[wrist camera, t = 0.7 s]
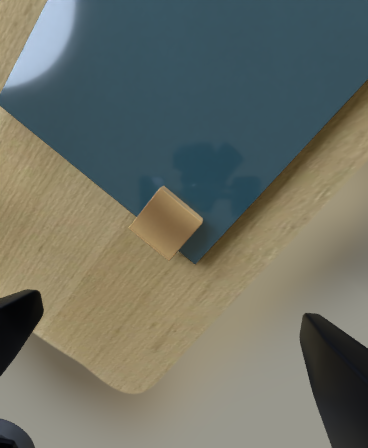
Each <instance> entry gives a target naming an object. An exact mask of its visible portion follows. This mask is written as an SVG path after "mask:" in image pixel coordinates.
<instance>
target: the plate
mask: <svg viewBox="0 0 368 448" xmlns="http://www.w3.org/2000/svg"><path fill="white" fill-rule="evenodd" d="M367 80H368V0H47V2H46V4H45V6H44V8H43V10H42V12H41V14H40V16H39V18H38V20H37V22H36V24H35V26H34V28H33V30H32V32H31V34H30V36H29V38H28V40H27V42H26V44H25V46H24V48H23V50H22V51H21V53H20V55H19V57H18V59H17V61H16V63H15V65H14V67H13V69H12V71H11V73H10V75H9V77H8V79H7V81H6V83H5V85H4V87H3V89H2V91H1V93H0V106H1V107H2V108H3V109H5V110H6V111H7V112H8V113H10V114H11V115H12V116H13V117H14V118H16V119H17V120H18V121H19V122H21V123H22V124H23V125H24V126H26V127H27V128H28V129H29V130H30V131H32V132H33V133H34V134H35V135H37V136H38V137H39V138H40V139H42V140H43V141H44V142H45V143H46V144H48V145H49V146H50V147H51V148H53V149H54V150H55V151H56V152H57V153H59V154H60V155H61V156H62V157H64V158H65V159H66V160H67V161H69V162H70V163H71V164H72V165H73V166H75V167H76V168H77V169H78V170H80V171H81V172H82V173H83V174H85V175H86V176H87V177H88V178H89V179H91V180H92V181H93V182H94V183H96V184H97V185H98V186H99V187H101V188H102V189H103V190H104V191H105V192H107V193H108V194H109V195H110V196H112V197H113V198H114V199H115V200H117V201H118V202H119V203H120V204H121V205H123V206H124V207H125V208H126V209H128V210H129V211H130V212H131V213H133V214H134V215H135V216H136V217H137V216H138V215H139V214H140V213H141V211H142V210H143V209H144V207H145V206H146V205H147V204H148V202H149V201H150V200H151V199H152V197H153V196H154V195H155V193H156V192H157V191H158V190H159V188H161V187H163V186H165V187H166V188H167V189H168V190H170V191H171V192H172V193H173V194H174V195H176V196H177V197H178V198H179V199H180V200H182V201H183V202H184V203H185V204H186V205H188V206H189V207H190V208H191V209H192V210H194V211H195V212H196V213H197V214H198V215H200V216H201V217H202V218H203V222H202V224H201V225H200V227H199V228H198V229H197V230H196V231H195V232H194V233H193V234H192V236H191V237H190V238H189V239H188V240H187V241H186V242H185V243H184V245H183V246H182V247H181V248H180V249H179V250H178V251H179V252H180V253H182V254H183V255H184V256H185V257H187V258H188V259H189V260H190V261H192V262H193V263H194V264H196V263H197V262H198V261H199V260H200V259H201V258H202V257H203V256H204V255H205V254H206V252H207V251H208V250H209V249H210V248H211V247H212V246H213V245H214V244H215V243H216V242H217V241H218V240H219V239H220V237H221V236H222V235H223V234H224V233H225V232H226V231H227V230H228V229H229V228H230V227H231V226H232V225H233V223H234V222H235V221H236V220H237V219H238V218H239V217H240V216H241V215H242V214H243V213H244V212H245V211H246V210H247V208H248V207H249V206H250V205H251V204H252V203H253V202H254V201H255V200H256V199H257V198H258V197H259V196H260V195H261V193H262V192H263V191H264V190H265V189H266V188H267V187H268V186H269V185H270V184H271V183H272V182H273V181H274V179H275V178H276V177H277V176H278V175H279V174H280V173H281V172H282V171H283V170H284V169H285V168H286V167H287V166H288V164H289V163H290V162H291V161H292V160H293V159H294V158H295V157H296V156H297V155H298V154H299V153H300V152H301V151H302V149H303V148H304V147H305V146H306V145H307V144H308V143H309V142H310V141H311V140H312V139H313V138H314V137H315V135H316V134H317V133H318V132H319V131H320V130H321V129H322V128H323V127H324V126H325V125H326V124H327V123H328V122H329V120H330V119H331V118H332V117H333V116H334V115H335V114H336V113H337V112H338V111H339V110H340V109H341V108H342V107H343V105H344V104H345V103H346V102H347V101H348V100H349V99H350V98H351V97H352V96H353V95H354V94H355V93H356V91H357V90H358V89H359V88H360V87H361V86H362V85H363V84H364V83H365V82H366V81H367Z"/></svg>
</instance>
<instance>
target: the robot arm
mask: <svg viewBox="0 0 368 448" xmlns="http://www.w3.org/2000/svg"><path fill="white" fill-rule="evenodd" d="M43 312H44V308H43V303H42V298H41V294H40V292H39V291H38V290H30V289H27V290H23V291H20V292H17V293H14V294H12V295H9V296H6V297H3V298H0V376H1V375H2V374H3V372H4V371H5V370H6V368H7V367H8V366H9V365H10V363H11V362H12V361H13V359H14V358H15V357H16V355H17V354H18V352H19V351H20V350H21V348H22V346H23V345H24V343H25V342H26V340H27V339H28V337H29V336H30V334H31V333H32V331H33V330H34V328H35V327H36V325H37V324H38V322H39V321H40V319H41V318H42V316H43ZM300 344H301V348H302V352H303V356H304V360H305V364H306V368H307V372H308V376H309V380H310V384H311V388H312V392H313V395H314V398H315V401H316V404H317V407H318V410H319V413H320V415H321V418H322V421H323V423H324V426H325V429H326V432H327V434H328V438H329V440H330V443H331V446H332V448H368V348H366V347H365V346H363V345H362V344H360V343H359V342H358V341H356V340H355V339H354V338H352V337H351V336H349V335H348V334H346V333H345V332H344V331H342V330H341V329H339V328H338V327H337V326H335V325H333V324H332V323H331V322H329V321H328V320H327V319H325V318H324V317H322V316H321V315H319V314H312V313H305V314H304V315H303V318H302V324H301V330H300ZM0 448H17V445H16V442H15V441H14V440H12V439H5V438H0Z"/></svg>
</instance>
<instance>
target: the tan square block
mask: <svg viewBox="0 0 368 448" xmlns="http://www.w3.org/2000/svg"><path fill="white" fill-rule="evenodd" d="M202 222H203V218H202V217H201V216H200V215H198V214H197V213H196V212H195V211H194V210H192V209H191V208H190V207H189V206H188V205H186V204H185V203H184V202H183V201H182V200H180V199H179V198H178V197H177V196H176V195H174V194H173V193H172V192H171V191H170V190H168V189H167V188H166V187H165V186H163V187H161V188H159V190H158V191H157V192H156V193H155V195H154V196H153V197H152V199H151V200H150V201H149V202H148V204H147V205H146V206H145V207H144V209H143V210H142V211H141V213H140V214H139V215H138V216H137V218H136V219H135V220H134V221H133V223H132V224H131V225H130V226H129V229H130V230H131V231H132V232H134V233H135V234H136V235H137V236H139V237H140V238H141V239H142V240H144V241H145V242H146V243H147V244H149V245H150V246H151V247H152V248H154V249H155V250H156V251H157V252H159V253H160V254H161V255H162V256H163V257H165V258H166V259H167V260H168V261H169V260H170V259H171V258H172V257H173V256H174V255H175V254H176V253H177V251H178V250H179V249H180V248H181V247H182V246H183V245H184V243H185V242H186V241H187V240H188V239H189V238H190V237H191V236H192V234H193V233H194V232H195V231H196V230H197V229H198V228H199V227H200V225H201V224H202Z"/></svg>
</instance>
